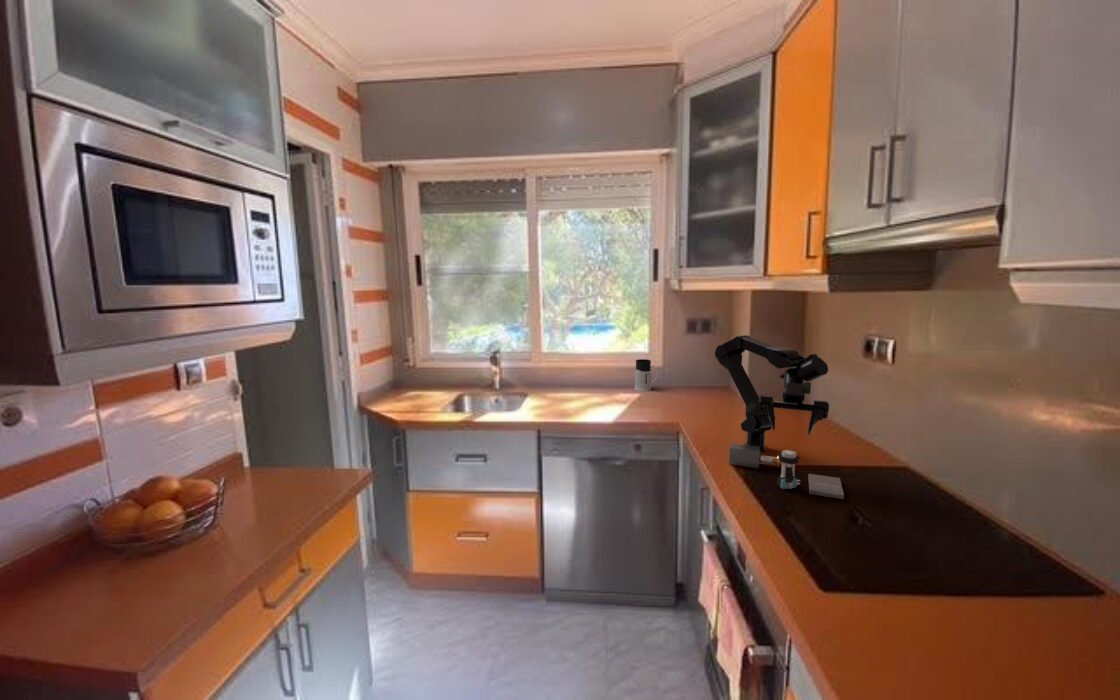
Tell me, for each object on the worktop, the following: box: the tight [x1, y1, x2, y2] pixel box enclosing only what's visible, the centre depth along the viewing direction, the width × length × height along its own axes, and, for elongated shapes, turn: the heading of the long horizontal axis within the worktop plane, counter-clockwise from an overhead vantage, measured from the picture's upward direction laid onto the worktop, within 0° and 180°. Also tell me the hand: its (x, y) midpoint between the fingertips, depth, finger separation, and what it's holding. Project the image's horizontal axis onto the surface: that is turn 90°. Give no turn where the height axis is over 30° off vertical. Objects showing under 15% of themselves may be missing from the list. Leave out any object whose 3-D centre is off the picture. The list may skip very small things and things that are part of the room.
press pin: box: [759, 454, 781, 468], centre depth 155 cm, size 3×9×3 cm, turn 66°
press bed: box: [807, 473, 845, 500], centre depth 138 cm, size 12×8×3 cm, turn 156°
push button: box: [776, 449, 801, 490], centre depth 139 cm, size 7×5×10 cm
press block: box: [728, 443, 761, 469], centre depth 157 cm, size 5×8×5 cm, turn 66°
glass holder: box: [633, 358, 660, 392], centre depth 258 cm, size 9×14×15 cm, turn 40°
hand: (791, 431), depth 145 cm, fingers open, 9 cm apart
